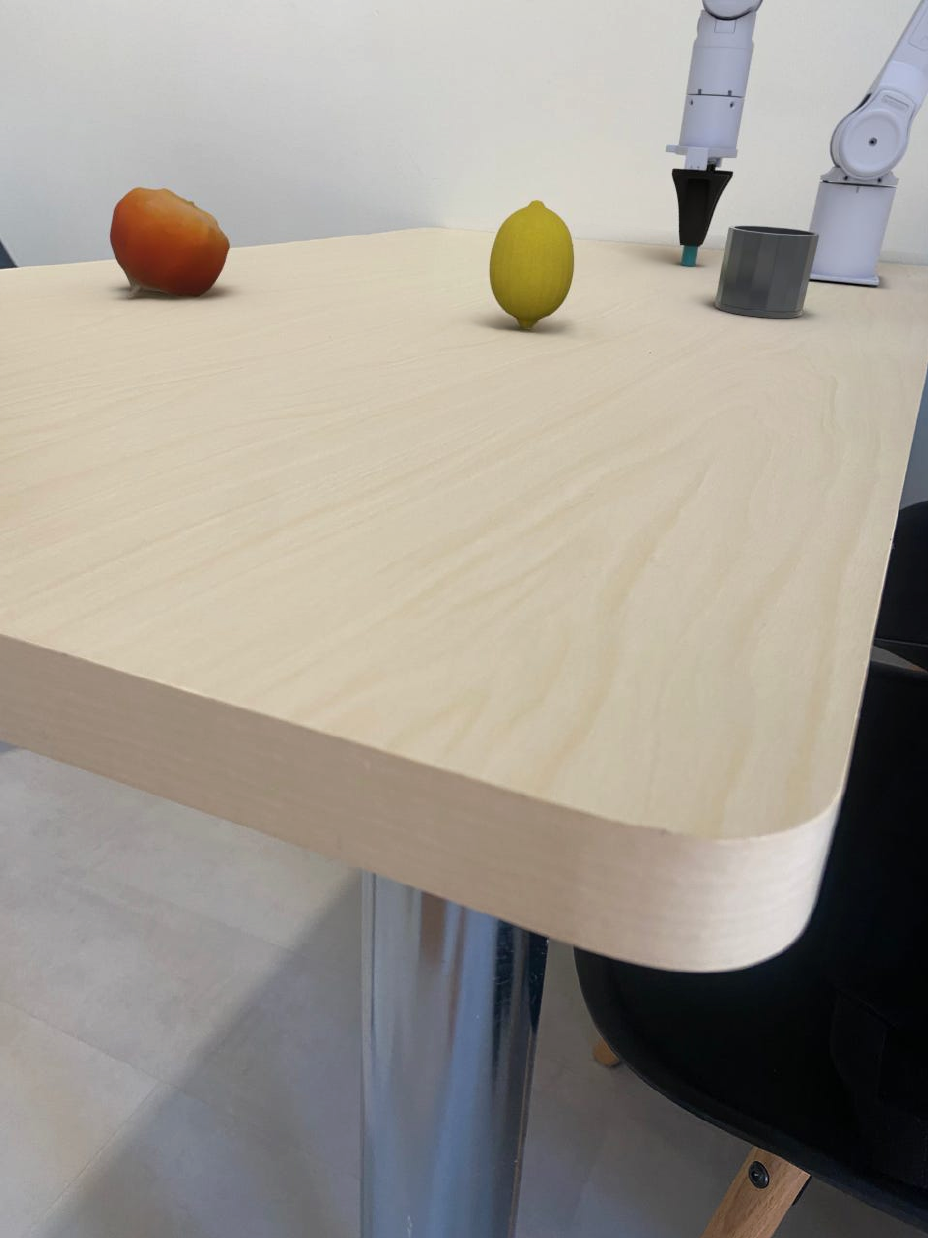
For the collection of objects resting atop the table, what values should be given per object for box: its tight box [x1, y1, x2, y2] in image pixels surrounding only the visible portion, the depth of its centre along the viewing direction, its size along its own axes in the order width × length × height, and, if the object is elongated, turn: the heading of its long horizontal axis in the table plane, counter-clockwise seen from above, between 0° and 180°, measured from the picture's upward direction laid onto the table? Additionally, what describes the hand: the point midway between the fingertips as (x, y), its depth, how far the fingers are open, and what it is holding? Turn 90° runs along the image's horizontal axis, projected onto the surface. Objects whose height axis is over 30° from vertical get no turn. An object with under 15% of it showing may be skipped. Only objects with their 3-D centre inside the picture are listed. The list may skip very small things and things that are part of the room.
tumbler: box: [714, 224, 819, 319], centre depth 72 cm, size 7×7×6 cm
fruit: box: [109, 186, 231, 299], centre depth 65 cm, size 8×8×8 cm
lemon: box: [489, 199, 575, 330], centre depth 60 cm, size 6×6×8 cm
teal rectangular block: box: [680, 245, 699, 267], centre depth 95 cm, size 2×2×8 cm
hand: (691, 244), depth 96 cm, fingers closed on teal rectangular block, 1 cm apart
